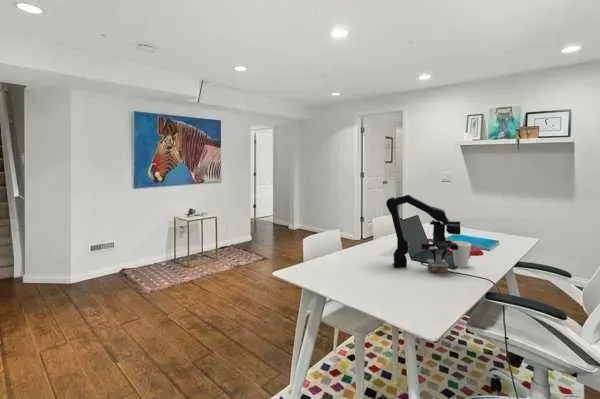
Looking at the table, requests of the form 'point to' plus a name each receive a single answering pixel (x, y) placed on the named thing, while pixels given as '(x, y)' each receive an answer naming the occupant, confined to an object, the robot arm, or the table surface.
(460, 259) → the foam cup
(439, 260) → the lid
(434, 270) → the walnut box
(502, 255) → the table surface
